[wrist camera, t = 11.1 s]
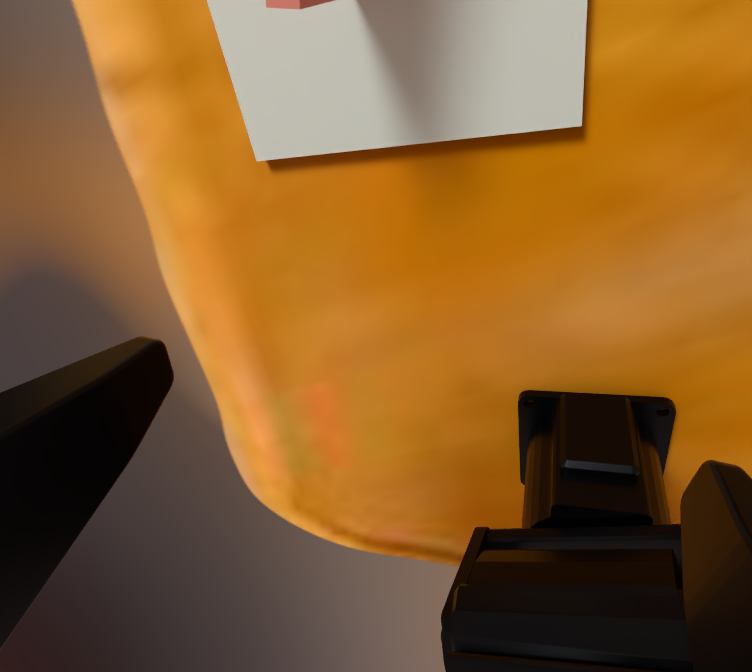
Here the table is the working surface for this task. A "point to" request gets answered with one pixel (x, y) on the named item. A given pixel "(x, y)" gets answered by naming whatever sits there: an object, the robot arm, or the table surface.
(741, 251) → the table surface
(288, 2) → the pink rectangular prism
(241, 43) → the mat
